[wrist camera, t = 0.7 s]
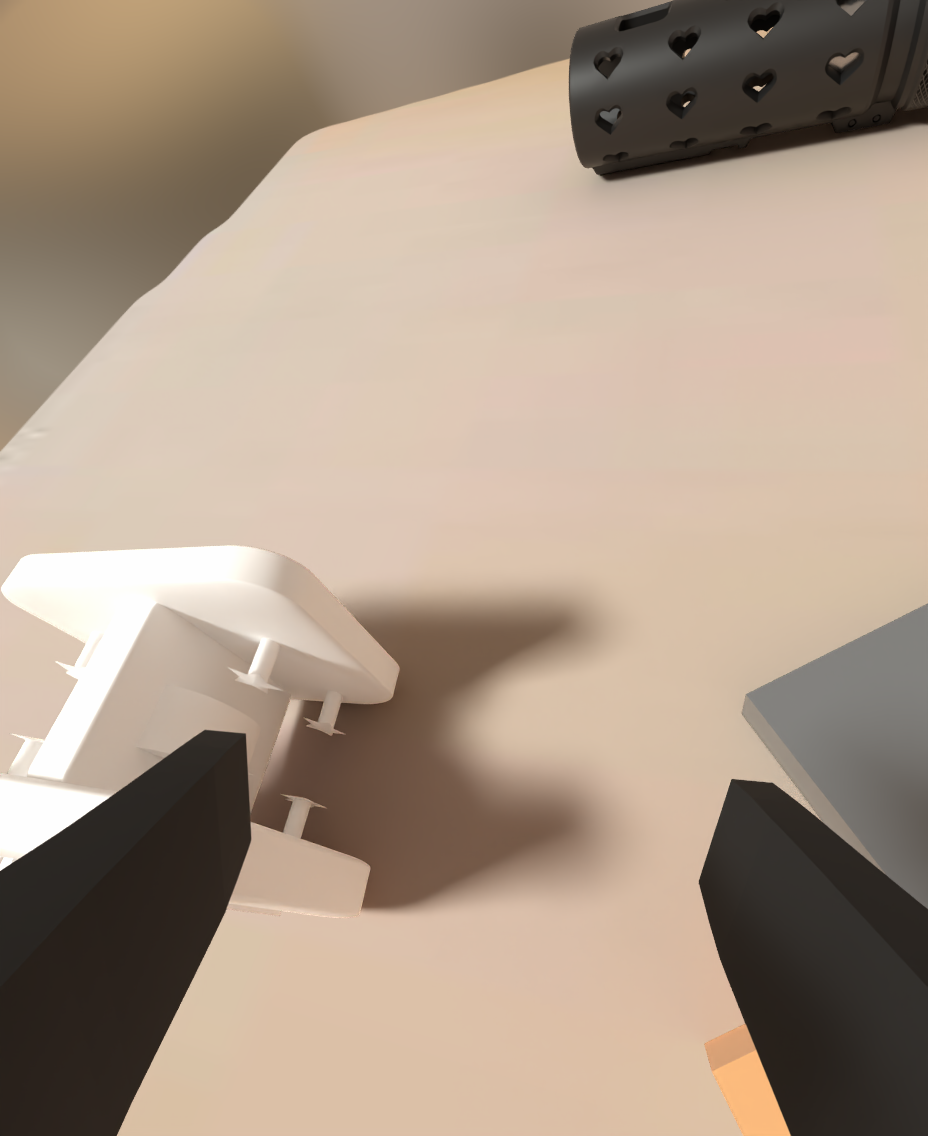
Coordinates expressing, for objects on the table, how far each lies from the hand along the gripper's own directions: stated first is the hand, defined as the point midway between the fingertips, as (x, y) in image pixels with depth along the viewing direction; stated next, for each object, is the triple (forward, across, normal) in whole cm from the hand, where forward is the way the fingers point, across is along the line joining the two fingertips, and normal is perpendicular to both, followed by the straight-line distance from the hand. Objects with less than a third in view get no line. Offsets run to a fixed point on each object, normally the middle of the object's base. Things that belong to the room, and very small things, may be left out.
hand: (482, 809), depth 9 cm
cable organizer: (+15, +9, +13) cm, 22 cm away
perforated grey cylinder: (+48, -20, -24) cm, 57 cm away
